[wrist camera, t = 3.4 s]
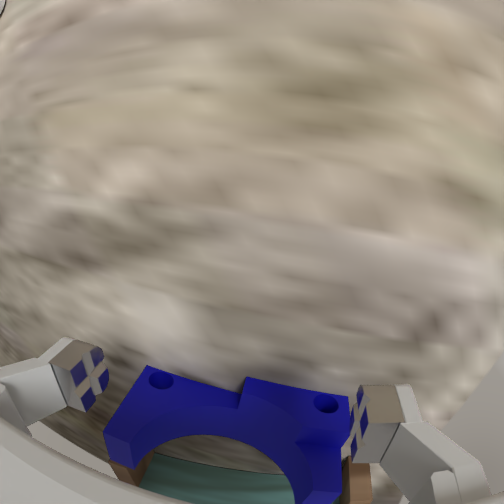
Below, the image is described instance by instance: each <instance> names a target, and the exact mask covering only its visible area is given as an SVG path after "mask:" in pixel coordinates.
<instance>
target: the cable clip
mask: <svg viewBox="0 0 504 504" xmlns="http://www.w3.org/2000/svg"><path fill="white" fill-rule="evenodd" d="M349 426H350V411H349V402H348V397H347V396H341V395H334V394H328V393H322V392H317V391H311V390H306V389H301V388H296V387H291V386H286V385H281V384H277V383H272V382H268V381H263V380H259V379H255V378H251V377H246V380H245V384H244V388H243V392H242V394H240V393H236V392H232V391H229V390H225V389H221V388H217V387H214V386H210V385H207V384H203V383H200V382H197V381H193V380H190V379H187V378H184V377H180V376H177V375H174V374H171V373H168V372H165V371H162V370H159V369H156V368H154V367H151V366H148V365H147V366H146V367H145V369H144V370H143V372H142V373H141V375H140V376H139V378H138V379H137V381H136V382H135V384H134V385H133V387H132V388H131V390H130V391H129V393H128V394H127V396H126V397H125V399H124V400H123V402H122V403H121V405H120V406H119V408H118V409H117V411H116V412H115V414H114V415H113V417H112V418H111V420H110V421H109V423H108V424H107V426H106V427H105V429H104V431H103V435H104V439H105V443H106V446H107V450H108V453H109V457H110V460H112V461H115V462H117V463H119V464H121V465H124V466H126V467H129V468H131V469H133V470H135V468H136V466H137V465H138V463H139V462H140V461H141V459H142V458H143V457H144V456H145V455H146V454H147V453H148V452H150V451H151V450H152V449H154V448H155V447H157V446H158V445H160V444H162V443H164V442H167V441H169V440H172V439H175V438H179V437H183V436H189V435H217V436H223V437H228V438H232V439H235V440H238V441H241V442H244V443H246V444H249V445H251V446H253V447H255V448H256V449H258V450H260V451H261V452H263V453H264V454H266V455H267V456H268V457H269V458H271V459H272V460H273V461H274V462H275V463H276V464H277V465H278V466H279V467H280V468H281V470H282V471H283V472H284V474H285V475H286V477H287V479H288V480H289V482H290V485H291V487H292V490H293V494H294V500H295V504H331V503H332V502H333V501H334V500H335V499H336V498H337V497H338V496H339V495H340V494H341V493H342V467H341V447H342V446H343V445H344V443H345V442H346V440H347V439H348V437H349V436H350V429H349Z"/></svg>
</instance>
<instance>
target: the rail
mask: <svg viewBox="0 0 504 504" xmlns="http://www.w3.org/2000/svg"><path fill="white" fill-rule="evenodd" d="M108 462H109V464H110V465H111V467H112V469H113V471H114V473H115V474H116V476H117V477H118V479H119V480H120V481H123V482H125V483H128V484H131V485H134V486H136V487H139V488H142V489H145V490H148V491H151V492H154V493H157V494H161V495H164V496H167V497H171V498H174V499H178V500H182V501H185V502H189V503H193V504H295V500H294V494H293V490H292V487H291V485H290V482H289V480H288V479H287V477H286V475H275V474H264V473H255V472H247V471H239V470H233V469H226V468H220V467H214V466H209V465H204V464H199V463H194V462H189V461H185V460H180V459H176V458H172V457H168V456H164V455H160V454H157V453H154V450H153V449H152V450H151V451H150V452H148V453H147V454H146V455H145V456H144V457H143V458H142V459H141V461H140V462H139V463H138V465H137V466H136V468H135V470H133V469H131V468H129V467H126V466H124V465H121V464H119V463H117V462H115V461H112V460H110V459H109V461H108ZM372 500H373V498H372V486H371V476H370V466H369V463H352V460H351V456H348V458H347V461H346V463H345V465H344V467H343V470H342V493H341V494H340V495H339V496H338V497H337V498H336V499H335V500H334V501H333V502H332V503H331V504H370V503H371V501H372Z"/></svg>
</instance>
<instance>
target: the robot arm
mask: <svg viewBox="0 0 504 504" xmlns="http://www.w3.org/2000/svg"><path fill="white" fill-rule="evenodd" d="M4 4H5V0H0V14H1V12H2V10H3V7H4ZM103 359H104V354H103V351H102V349H101V348H100V347H98V346H95V345H92V344H89V343H86V342H83V341H80V340H76V339H73V338H70V337H63V338H61V339H60V340H59V341H58V342H57V343H55V344H54V345H53V346H52V347H51V348H49V349H48V350H47V351H46V352H45V353H43V354H42V355H41V356H40V357H39V358H35V357H34V358H31V359H28V360H24V361H20V362H17V363H13V364H10V365H6V366H3V367H0V504H193V503H189V502H185V501H182V500H178V499H174V498H171V497H167V496H164V495H161V494H157V493H154V492H151V491H148V490H145V489H142V488H139V487H136V486H134V485H131V484H128V483H125V482H123V481H120V480H117V479H115V478H112V477H110V476H108V475H105V474H103V473H101V472H98V471H96V470H94V469H92V468H89V467H87V466H85V465H83V464H81V463H79V462H76V461H75V460H73V459H70V458H68V457H67V456H65V455H63V454H61V453H59V452H57V451H55V450H53V449H51V448H50V447H48V446H46V445H44V444H43V443H41V442H39V441H37V440H35V439H34V438H32V435H31V433H30V431H29V430H28V428H27V426H29V425H31V424H33V423H35V422H37V421H39V420H41V419H43V418H45V417H47V416H49V415H51V414H53V413H55V412H57V411H59V410H61V409H63V408H65V407H67V405H68V406H70V407H73V408H75V409H78V410H81V411H83V412H87V411H88V410H89V408H90V407H91V406H92V405H93V403H94V402H95V401H96V396H95V395H98V394H100V393H102V392H103V391H104V390H105V388H106V387H107V384H108V381H109V372H108V369H107V367H106V365H105V364H104V363H103V362H102V361H103ZM349 429H350V435H351V436H352V437H353V441H352V444H351V460H352V463H380V466H381V467H382V468H383V469H384V471H385V472H386V473H387V474H388V476H389V477H390V478H391V479H392V481H393V482H394V483H395V484H396V486H397V487H398V488H399V489H400V490H401V492H402V493H403V494H404V495H405V497H406V498H407V499H408V500H409V501H410V502H409V504H504V491H503V492H500V493H498V494H494V495H492V494H491V491H490V488H489V485H488V482H487V479H486V476H485V473H484V470H483V467H482V465H481V462H479V461H478V460H477V459H475V458H474V457H473V456H472V455H470V454H469V453H468V452H466V451H465V450H464V449H462V448H461V447H460V446H459V445H457V444H456V443H454V442H453V441H452V440H451V439H449V438H448V437H447V436H445V435H444V434H443V433H442V432H440V431H439V430H438V429H437V428H435V427H434V426H433V425H431V424H430V423H429V422H428V421H426V422H423V420H422V417H421V414H420V411H419V408H418V405H417V402H416V399H415V396H414V393H413V390H412V388H411V386H410V385H409V384H393V385H360V387H359V388H358V392H357V403H356V404H354V405H353V408H352V411H351V416H350V426H349Z"/></svg>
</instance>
